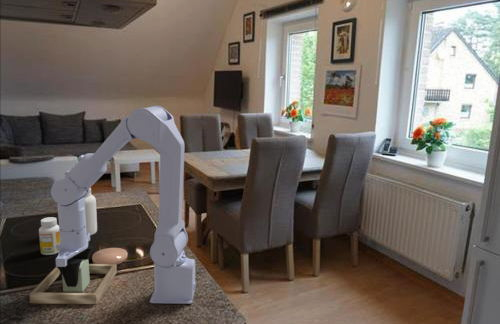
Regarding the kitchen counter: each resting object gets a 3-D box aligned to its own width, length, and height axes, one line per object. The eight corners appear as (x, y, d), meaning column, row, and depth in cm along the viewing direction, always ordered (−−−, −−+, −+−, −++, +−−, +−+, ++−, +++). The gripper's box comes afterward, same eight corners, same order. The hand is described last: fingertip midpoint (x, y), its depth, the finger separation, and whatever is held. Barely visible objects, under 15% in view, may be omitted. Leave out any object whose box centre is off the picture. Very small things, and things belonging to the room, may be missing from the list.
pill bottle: (93, 237, 122) (90, 191, 119) (66, 237, 121) (63, 191, 118) (100, 228, 130) (98, 184, 127) (76, 228, 129) (73, 184, 126)
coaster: (130, 251, 113) (130, 248, 113) (121, 266, 104) (121, 262, 104) (99, 251, 113) (99, 247, 112) (87, 265, 104) (87, 261, 104)
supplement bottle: (56, 245, 115) (54, 214, 113) (65, 251, 112) (62, 219, 110) (37, 251, 111) (34, 219, 109) (45, 257, 108) (42, 224, 106)
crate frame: (116, 272, 101) (116, 264, 101) (96, 304, 87) (96, 295, 86) (59, 271, 101) (59, 263, 100) (30, 303, 86) (29, 294, 86)
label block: (89, 281, 96) (88, 259, 95) (82, 291, 91) (81, 267, 90) (71, 281, 96) (69, 258, 94) (63, 291, 91) (61, 267, 90)
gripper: (68, 216, 97) (72, 265, 100) (39, 239, 83) (44, 296, 86) (97, 216, 98) (99, 266, 100) (73, 240, 83) (76, 297, 86)
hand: (76, 280), depth 93 cm, fingers closed on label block, 4 cm apart
